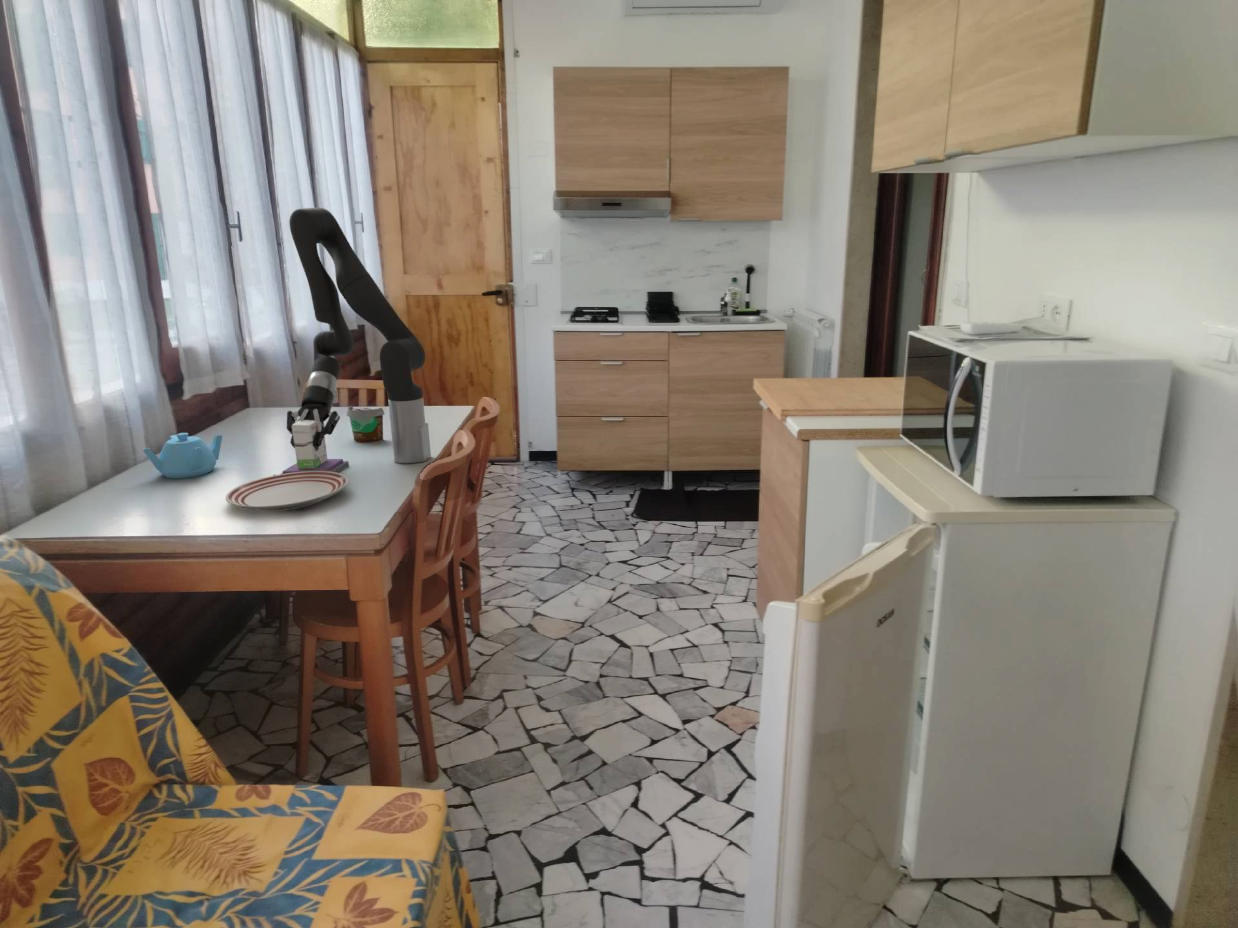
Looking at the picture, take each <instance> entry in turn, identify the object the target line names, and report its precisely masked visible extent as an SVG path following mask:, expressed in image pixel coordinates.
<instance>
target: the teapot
mask: <svg viewBox="0 0 1238 928" xmlns="http://www.w3.org/2000/svg"><path fill="white" fill-rule="evenodd" d="M222 441H223V434H215V435H214V438H213V439H212V442H211V444H210V446H209V445H208V444H207V443H206V442H205V441H204V440H203V439H202V438H201V437H200V436H194V435H192V436H191V435H190V436H189V433H188V432H180V433H177V434H174V435H169V439H168V440H167V441H165V443H164V444H163V447H162V449H161V451H160V452H159V456H157V455H156V454H155V453H154V452H153V451H152V450H151V448H150V447H146V448H142V451H143V452H144V454H145V455H146V457H147V459H149V461H150V462H151V464H152V465H153V466H154V468H155V469H156V470H157V471H158V472H159V473H161V475H163V476H164V477H165V478H167V479H188V478H189V479H190V478H195V477H200V476H203V475H206V474H209V473H210V472H212V471H213V470H214V468H215V466H216V465H217V460H219V457H220V453H221V452H220V451H221V448H222V447H221V446H222ZM208 472H209V473H208Z"/></svg>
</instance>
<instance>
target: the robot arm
mask: <svg viewBox="0 0 1238 928" xmlns="http://www.w3.org/2000/svg"><path fill="white" fill-rule="evenodd" d="M288 220H289V222H288V223H289V225H288V226H289V229H290V230H289V231H290V234H291V238H292V240H293V243H294V246H295V248H296V252H297V254H298V257H299V261H300V263H301V266H302V268H303V271H304V274H305V277H306V280H307V283H308V287H309V290H310V295H311V301H312V306H313V311H314V316H315V320H316V321H317V322H319V323H321V324H328V325H330V327H331V328H332V330H323V331H319V332H317V334H316V335H314V338H313V366H312V369H311V372H310V374H309V375H310V376H309V377H308V379H307V383H306V386H305V389H304V392H303V397H302V400H301V405H300V408H299V409H298V411H292V410H288V411H287V412H286V429H287V431H288V432H289V433H290V434H291V438H290V444H291V447H293V448H294V449H295V446H294V439H293V432H292V425H293V424H294V423H296V422H298V421H303V420H315V421H316V424H317V432H316V433H315V437H314V440H313V446H314V447H315V448H319V446H321V444H322V440H323V436H326V435H329V436H330V435H332V434H333V432H334V430H335V428H336V427H337V425H338V422H339V421H340V418H341V416H340V415H339V413H338V412H337V411H336V410H333V411H332V406H333V402H334V398H335V395H336V392H337V386H338V380H339V376H340V372H341V369H342V368H341V367H342V364H341V362H339V360H338V359H336V358H334V357H338V356H339V357H341V356H342V357H343V356H348V355H350V354H351V353H352V352H353V350H354V345H355V342H354V338H353V334H352V332H351V331H350V328H349V326H348V325H347V322H346V320H345V317H344V315H343V312H342V307H341V303H340V302H341V301H340V297H339V293H340V294H341V295H342V296H341V297H343V299H344V300H345V302H346V303H347V305H348V306H349V308H350V309H351V310H352V311H353V312H354V313H356V314H357V315H358V316H359V317H360V318H361V319H363V320H364V321H366V323H368V324H369V325H371V326H373V327H374V328H375V329H377V330H378V331H379V332H380V334H381V335H382V336H383V337H384V338H385V339H386V341H385V342H384V343H383V344H382V346H381V348H380V351H379V364H380V365H379V366H380V370H381V377H382V384H383V388H384V390H385V392H386V394H387V400H388V401H387V402H388V408H389V409H388V411H389V420H390V430H391V431H390V432H391V441H392V450H393V459H394V462H395V463H398V464H415V463H424V462H426V461H427V460H428V459H429V458H430V457H431V456H432V454H431V453H432V451H431V444H430V431H429V423H428V422H426V417H425V416H426V415H425V414H426V413H425V404H424V393H423V387H422V386H421V385H418V384H415V382H413V375H412V372H414V371H418V370H419V369H421V368H422V367H423V366H424V365H425V363H426V352H425V349H424V347H423V345H422V343H421V342H420V341H419V339H418V338H417V337H416V336H415V335H414V333H413V332H412V331H411V329H409V328H408V326H407V325H406V324H405V322H404V321H403V320H402V319H401V318H400V316H399V315H398V313H397V312H396V311H395V309H394V308H393V307H392V305H391V303H390V302H389V301H388V300H387V298H386V296H385V295H384V293H383V292H382V290H381V289H380V287H379V286H378V284H377V282H375V280H374V278H373V277H372V276H371V274H370V273H369V272H368V270H367V269H366V267H365V266H364V264H363V263H362V261H361V260H360V258H359V257H358V255H357V254H356V252H355V250H354V249H353V247H352V246H351V244H350V242H349V240H348V238H347V237H346V235H345V233H344V232H343V230H342V227H341V226H340V224H339V222H338V220H337V219H336V217H335V216H334V215H333V213H332V212H330V210H328V209H326V208H324V207H306V208H305V207H304V208H297V209H295V210H294V211H292V212H291V214H290V216H289V219H288ZM317 244H320V245H322V247H324V249H325V250H326V251H327V253H328V255H329V256H330V257H331V260H332V261H333V264H334V269H335V271H334V273H335V274H334V275H335V281H336V284H335V282H334V280H333V279H332V278H331V275H330V274H329V273H328V271H327V270H326V268H325V267H324V265H323V263H322V261H321V258H320V256H319V252H318V248H317V247H318V245H317ZM298 417H299V418H298ZM327 419H328V420H327ZM325 421H326V424H325Z"/></svg>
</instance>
